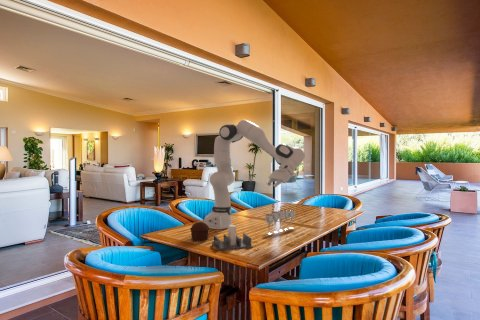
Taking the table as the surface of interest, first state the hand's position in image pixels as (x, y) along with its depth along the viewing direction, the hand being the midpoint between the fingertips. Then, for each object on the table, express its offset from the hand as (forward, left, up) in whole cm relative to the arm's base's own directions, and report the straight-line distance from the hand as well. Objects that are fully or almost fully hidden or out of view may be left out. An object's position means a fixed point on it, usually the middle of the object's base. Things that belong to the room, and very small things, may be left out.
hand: (271, 185), depth 190 cm
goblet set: (+4, +18, -32) cm, 37 cm away
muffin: (-39, -18, -32) cm, 54 cm away
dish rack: (-17, -24, -31) cm, 43 cm away
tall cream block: (-17, -24, -30) cm, 43 cm away
